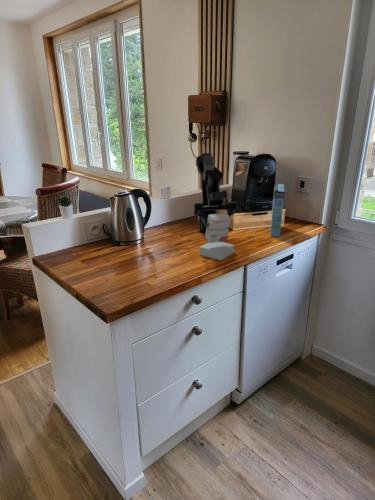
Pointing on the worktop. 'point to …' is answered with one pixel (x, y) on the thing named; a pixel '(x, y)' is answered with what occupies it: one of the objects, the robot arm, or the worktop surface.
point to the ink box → (217, 227)
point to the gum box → (277, 210)
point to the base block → (216, 250)
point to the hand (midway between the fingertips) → (217, 225)
